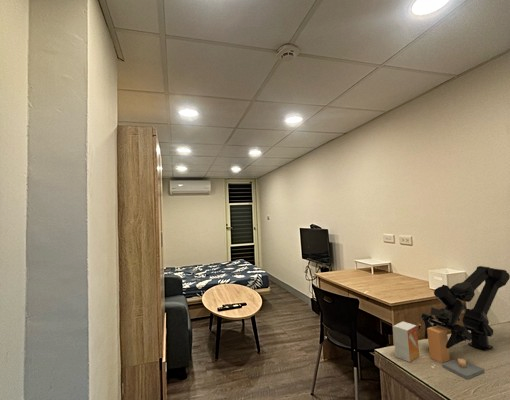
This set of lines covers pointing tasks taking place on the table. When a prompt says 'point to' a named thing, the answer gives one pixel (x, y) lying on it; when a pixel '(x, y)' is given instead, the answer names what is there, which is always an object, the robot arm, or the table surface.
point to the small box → (406, 341)
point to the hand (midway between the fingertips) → (435, 343)
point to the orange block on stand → (438, 344)
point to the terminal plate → (463, 368)
